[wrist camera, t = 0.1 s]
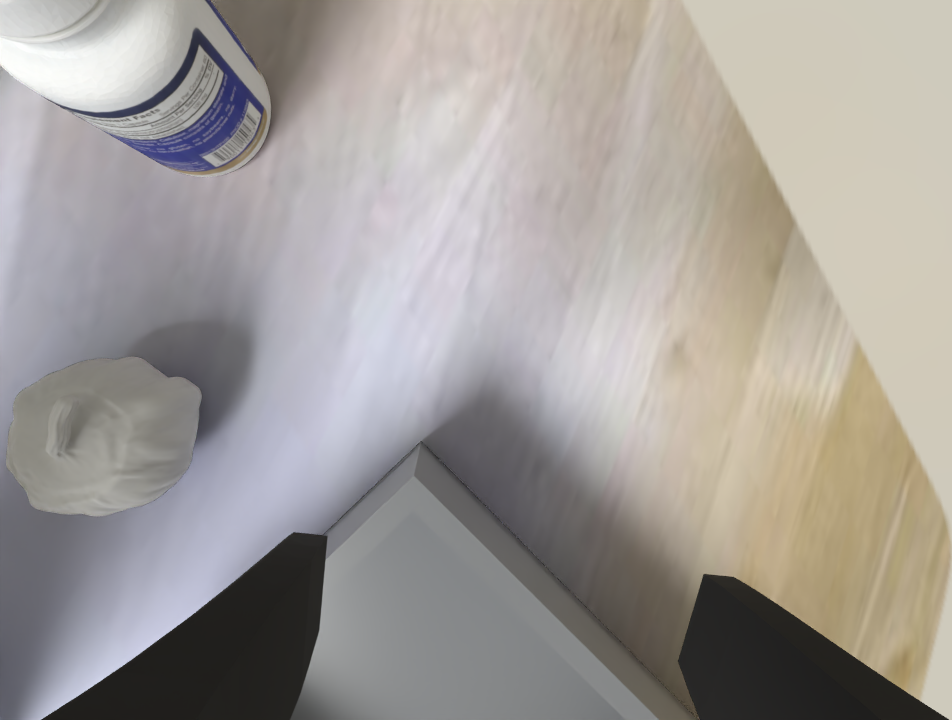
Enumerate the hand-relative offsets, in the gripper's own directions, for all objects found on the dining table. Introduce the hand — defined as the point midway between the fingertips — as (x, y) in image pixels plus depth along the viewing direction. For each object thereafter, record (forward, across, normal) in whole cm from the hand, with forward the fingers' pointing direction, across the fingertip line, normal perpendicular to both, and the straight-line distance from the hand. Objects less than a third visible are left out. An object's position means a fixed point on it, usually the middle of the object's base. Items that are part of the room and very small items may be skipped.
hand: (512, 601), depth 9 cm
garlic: (+11, +13, +2) cm, 17 cm away
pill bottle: (+13, +12, -10) cm, 20 cm away
